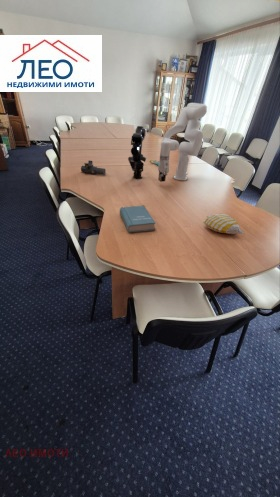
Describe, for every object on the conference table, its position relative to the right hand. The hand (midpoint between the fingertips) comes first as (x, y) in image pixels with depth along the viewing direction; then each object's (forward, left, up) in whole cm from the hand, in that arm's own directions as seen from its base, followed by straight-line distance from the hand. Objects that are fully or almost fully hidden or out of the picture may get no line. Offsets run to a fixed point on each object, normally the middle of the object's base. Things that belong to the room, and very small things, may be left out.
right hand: (161, 180), depth 187 cm
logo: (-48, -38, -5) cm, 62 cm away
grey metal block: (0, 0, -1) cm, 1 cm away
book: (+62, +28, -5) cm, 68 cm away
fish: (+30, +70, -5) cm, 77 cm away
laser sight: (+25, -60, -5) cm, 65 cm away
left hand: (+16, -17, +5) cm, 24 cm away
